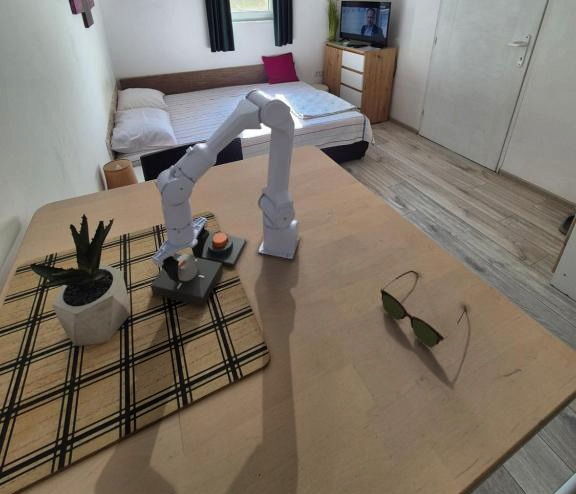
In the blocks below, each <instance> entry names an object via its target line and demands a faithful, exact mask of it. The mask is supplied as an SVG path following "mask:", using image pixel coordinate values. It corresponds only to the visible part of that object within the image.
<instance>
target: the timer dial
mask: <svg viewBox="0 0 576 494" xmlns="http://www.w3.org/2000/svg"><path fill="white" fill-rule="evenodd" d="M177 260H178V261H180V262H179V264H178V276H179V279H180V280H182V281H189V280H191V279H193V278H194V277H195V276H196V274H197V267H196V260H195V257H194V254H193V253H184V254H182V255H181V256H180V257H179V258H178V259H177Z"/></svg>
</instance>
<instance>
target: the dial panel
mask: <svg viewBox="0 0 576 494" xmlns="http://www.w3.org/2000/svg"><path fill="white" fill-rule="evenodd" d="M181 255H183V254H181V253H178V252H177V253H175V254H173V255H172V257H174V259H176V260H177V259H178V258H179V257H180V256H181ZM195 260H196V267H197V274H196V276H195V277H194V278H193V279H191V280H189V281H182V280H180V279H178V281H177V282H175V281H173V280H171V279H170V278H169V276H168V274H167V272H166V271H165V270H164V269H163V268H162V269H161V271H160V272H159V273H158V275H157V276H156V277H155V278H154V280H153V281H152V283H151V284H150V290H151V293H152V295H154V296H157V297H162V298H166V299H169V300H174V301H178V302H183V303H186V304H189V305H194V306H198V307H202V308H205V306H206V304H207V302H208V300H209V298H210V297H211V294H212V293H213V291H214V289H215V287H216V285H217V284H218V282H219V280H220V278H221V276H222V274H223V273H224V272H223V271H224V270H223V265H222V263H219V262H215V261H210V260H205V259H200V258H196V257H195Z"/></svg>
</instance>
